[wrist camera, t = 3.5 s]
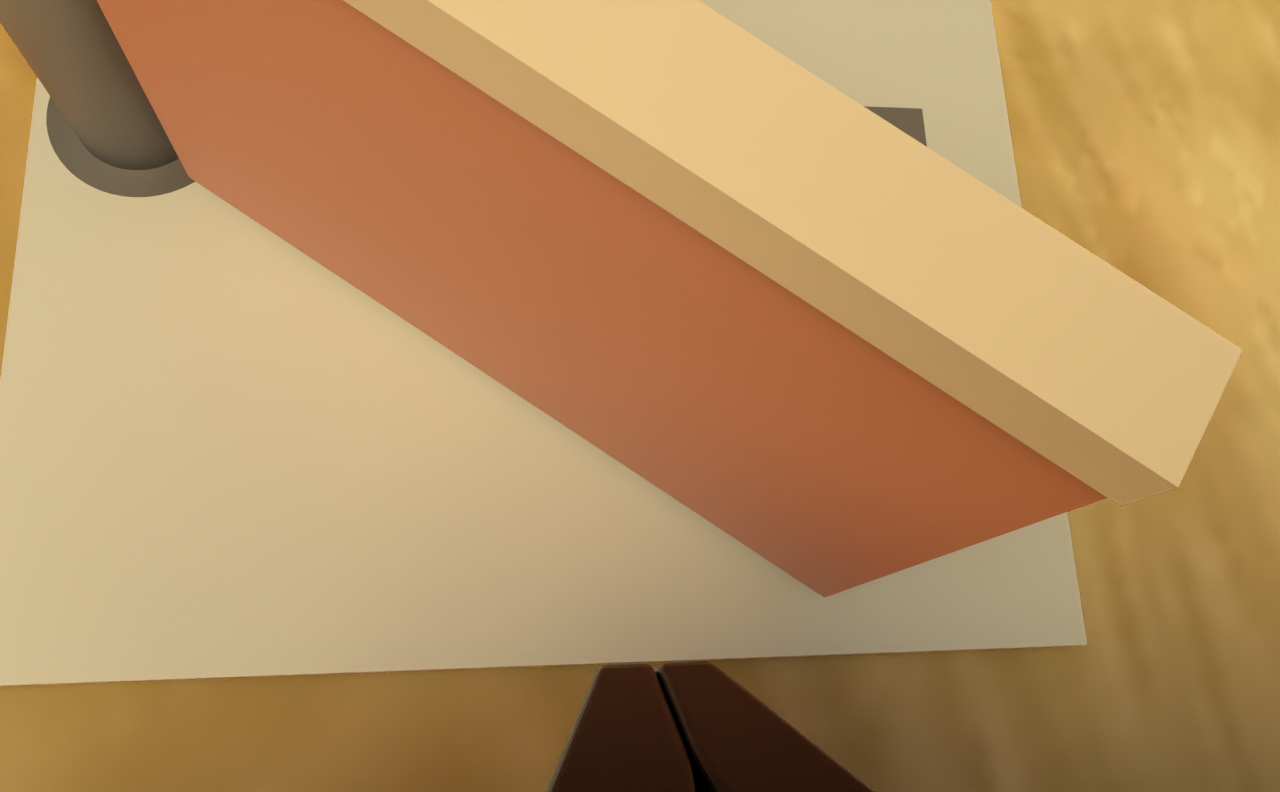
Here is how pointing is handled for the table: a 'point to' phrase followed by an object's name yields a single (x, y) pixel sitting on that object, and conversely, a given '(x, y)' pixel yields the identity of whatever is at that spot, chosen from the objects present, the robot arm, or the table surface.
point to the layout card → (410, 445)
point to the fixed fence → (89, 80)
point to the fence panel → (693, 262)
